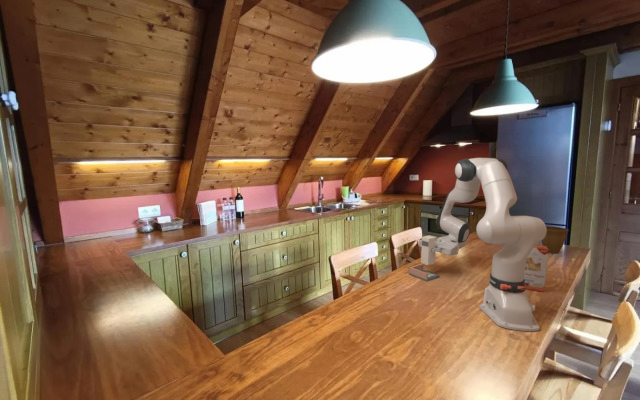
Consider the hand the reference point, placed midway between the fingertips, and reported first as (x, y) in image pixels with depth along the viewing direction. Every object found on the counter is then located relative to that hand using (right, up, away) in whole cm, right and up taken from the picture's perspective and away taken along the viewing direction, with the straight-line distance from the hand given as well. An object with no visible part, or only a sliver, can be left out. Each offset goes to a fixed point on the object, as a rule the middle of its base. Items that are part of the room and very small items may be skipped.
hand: (427, 249), depth 155 cm
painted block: (+1, -8, +2) cm, 8 cm away
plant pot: (+97, -9, +42) cm, 106 cm away
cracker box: (+43, -17, -12) cm, 47 cm away
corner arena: (-1, -15, +3) cm, 15 cm away
